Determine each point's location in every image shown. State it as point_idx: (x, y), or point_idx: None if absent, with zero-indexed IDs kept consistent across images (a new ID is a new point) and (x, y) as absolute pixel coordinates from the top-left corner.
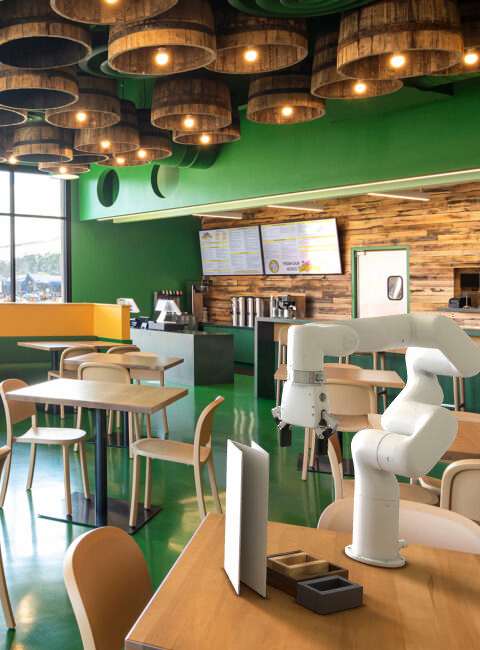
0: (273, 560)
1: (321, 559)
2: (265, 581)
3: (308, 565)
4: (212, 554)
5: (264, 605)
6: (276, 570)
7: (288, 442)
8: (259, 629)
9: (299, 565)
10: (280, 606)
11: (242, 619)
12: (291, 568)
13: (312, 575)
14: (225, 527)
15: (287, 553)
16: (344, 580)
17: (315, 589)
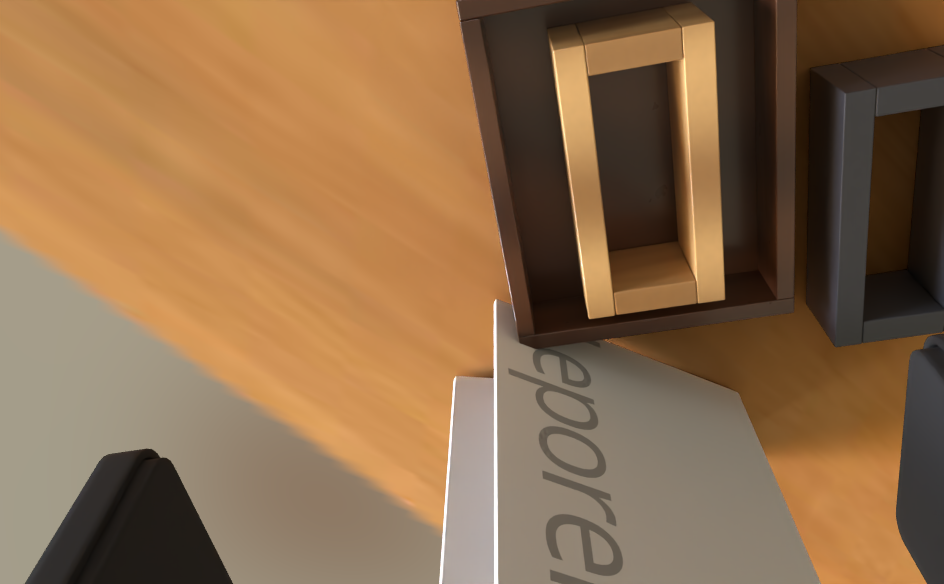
0: (620, 309)
1: (679, 43)
2: (753, 433)
3: (719, 178)
4: (284, 331)
5: (780, 424)
6: (676, 326)
7: (169, 558)
8: None
9: (711, 231)
10: (809, 379)
11: (832, 536)
12: (724, 289)
13: (781, 205)
14: (446, 510)
15: (496, 122)
16: (912, 110)
17: (920, 320)
